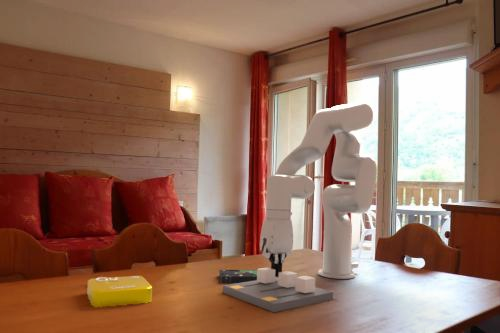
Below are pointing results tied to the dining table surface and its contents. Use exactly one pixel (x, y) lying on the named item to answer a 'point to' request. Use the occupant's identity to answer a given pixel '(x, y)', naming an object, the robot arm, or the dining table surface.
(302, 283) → the tab
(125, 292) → the element tile
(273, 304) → the switch board
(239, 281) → the disk drive
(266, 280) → the tab
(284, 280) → the tab
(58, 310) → the dining table surface
